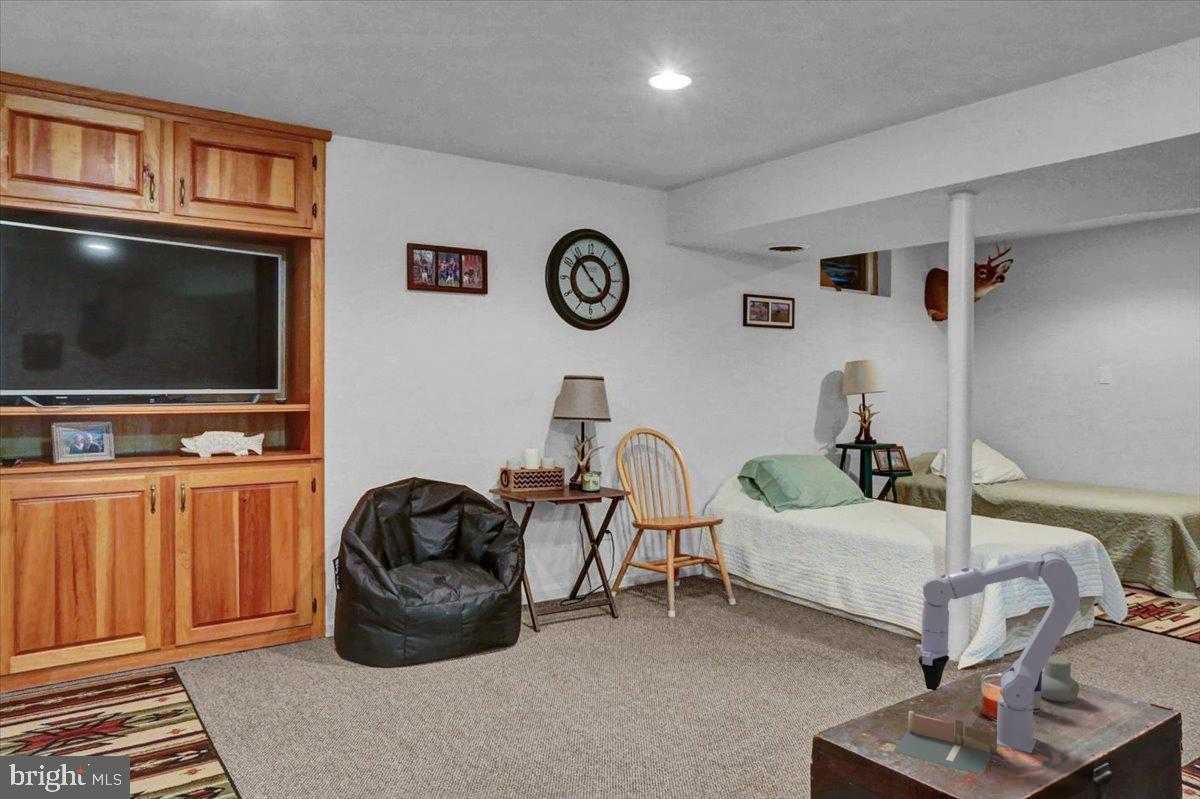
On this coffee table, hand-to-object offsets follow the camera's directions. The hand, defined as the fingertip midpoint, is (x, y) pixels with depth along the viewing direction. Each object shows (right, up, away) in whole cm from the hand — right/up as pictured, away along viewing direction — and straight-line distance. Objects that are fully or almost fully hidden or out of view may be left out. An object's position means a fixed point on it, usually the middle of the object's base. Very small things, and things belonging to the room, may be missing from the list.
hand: (932, 687), depth 196 cm
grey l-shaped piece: (+41, -11, +23) cm, 48 cm away
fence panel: (-2, -9, -5) cm, 11 cm away
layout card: (-2, -10, -12) cm, 16 cm away
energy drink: (+30, -11, +15) cm, 35 cm away
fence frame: (+5, -10, -10) cm, 15 cm away
